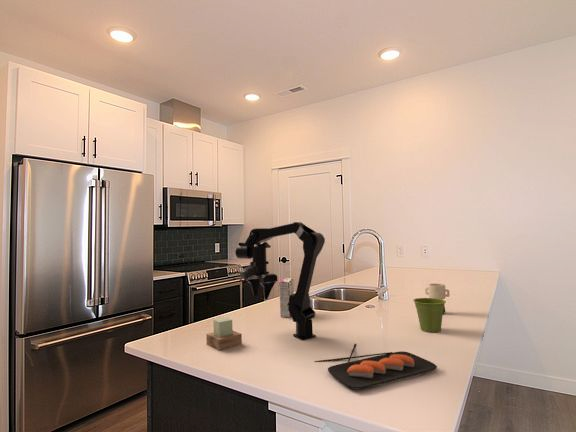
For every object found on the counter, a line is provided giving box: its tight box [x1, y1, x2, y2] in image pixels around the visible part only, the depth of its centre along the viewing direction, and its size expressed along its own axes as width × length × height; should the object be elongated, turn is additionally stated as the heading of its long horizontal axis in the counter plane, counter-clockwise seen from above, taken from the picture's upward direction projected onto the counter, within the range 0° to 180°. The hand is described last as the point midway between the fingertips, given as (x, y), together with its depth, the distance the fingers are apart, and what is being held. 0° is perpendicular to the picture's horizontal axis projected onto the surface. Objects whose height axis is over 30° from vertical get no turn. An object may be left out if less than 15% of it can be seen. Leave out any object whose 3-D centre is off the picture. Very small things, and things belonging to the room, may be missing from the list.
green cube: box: [213, 316, 234, 337], centre depth 120 cm, size 5×5×5 cm
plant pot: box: [412, 297, 447, 333], centre depth 130 cm, size 12×12×11 cm
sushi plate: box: [313, 343, 438, 390], centre depth 100 cm, size 29×30×4 cm
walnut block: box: [205, 330, 243, 351], centre depth 120 cm, size 9×9×4 cm
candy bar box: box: [278, 277, 295, 318], centre depth 160 cm, size 11×5×16 cm, turn 168°
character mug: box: [424, 283, 451, 313], centre depth 155 cm, size 11×7×13 cm, turn 46°
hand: (260, 297), depth 136 cm, fingers open, 9 cm apart
